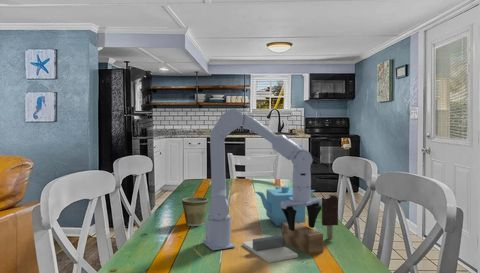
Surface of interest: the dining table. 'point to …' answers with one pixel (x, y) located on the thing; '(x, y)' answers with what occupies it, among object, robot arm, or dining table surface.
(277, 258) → the fulcrum board
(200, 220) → the plant pot
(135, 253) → the dining table surface
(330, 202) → the ice cream bar
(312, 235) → the walnut beam
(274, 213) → the teakettle
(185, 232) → the dining table surface
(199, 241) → the dining table surface
